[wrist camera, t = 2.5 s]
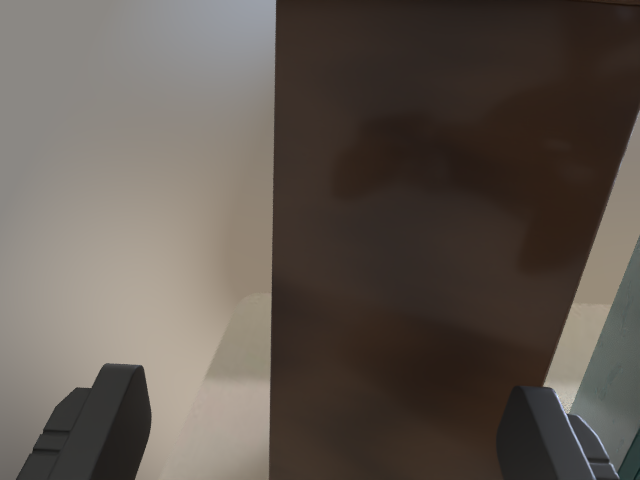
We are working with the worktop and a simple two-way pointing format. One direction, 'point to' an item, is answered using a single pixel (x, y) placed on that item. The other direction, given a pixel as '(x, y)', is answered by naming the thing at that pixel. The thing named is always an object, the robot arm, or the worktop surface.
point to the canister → (617, 378)
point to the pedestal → (432, 219)
